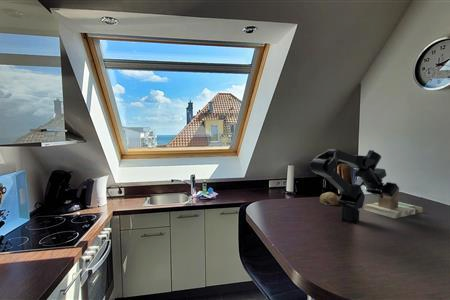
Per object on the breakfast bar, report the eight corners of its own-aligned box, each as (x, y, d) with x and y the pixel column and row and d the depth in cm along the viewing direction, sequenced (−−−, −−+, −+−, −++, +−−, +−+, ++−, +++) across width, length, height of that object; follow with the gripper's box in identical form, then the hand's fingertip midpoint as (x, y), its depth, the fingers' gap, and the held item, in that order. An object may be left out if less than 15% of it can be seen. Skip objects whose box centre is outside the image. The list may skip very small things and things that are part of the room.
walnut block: (390, 209, 128) (391, 188, 127) (378, 206, 133) (379, 186, 132) (398, 207, 130) (399, 187, 130) (385, 204, 136) (387, 185, 135)
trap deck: (394, 218, 122) (394, 213, 122) (364, 209, 136) (364, 204, 135) (422, 212, 132) (422, 207, 132) (391, 204, 145) (392, 200, 145)
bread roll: (318, 209, 147) (317, 198, 144) (321, 198, 155) (320, 186, 152) (338, 212, 143) (338, 200, 139) (340, 200, 151) (340, 188, 147)
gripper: (396, 165, 117) (410, 188, 123) (358, 160, 134) (372, 181, 140) (384, 184, 114) (398, 207, 120) (347, 177, 131) (361, 197, 137)
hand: (382, 197), depth 129 cm, fingers closed
